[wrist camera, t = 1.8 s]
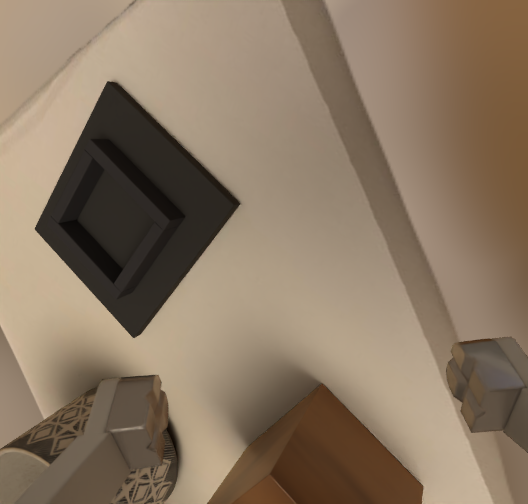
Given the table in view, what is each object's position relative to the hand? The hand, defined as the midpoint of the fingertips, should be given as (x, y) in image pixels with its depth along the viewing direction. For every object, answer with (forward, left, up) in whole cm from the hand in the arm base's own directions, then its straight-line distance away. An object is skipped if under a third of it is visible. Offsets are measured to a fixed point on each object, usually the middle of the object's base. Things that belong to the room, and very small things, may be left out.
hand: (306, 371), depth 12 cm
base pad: (-2, -21, -18) cm, 28 cm away
